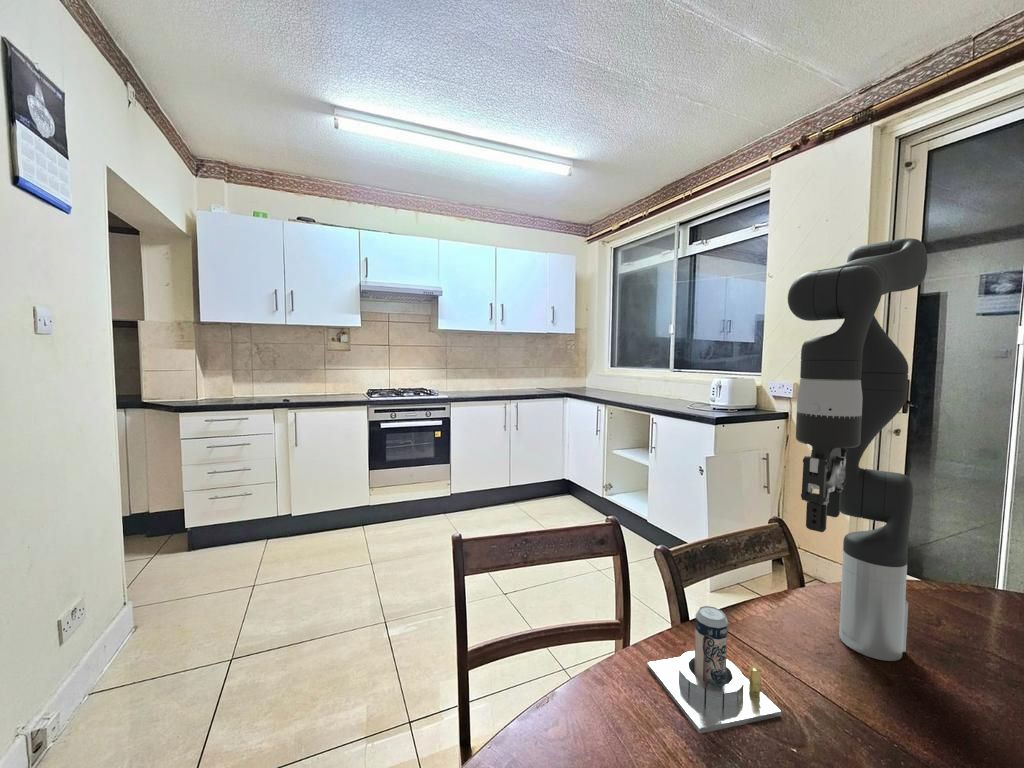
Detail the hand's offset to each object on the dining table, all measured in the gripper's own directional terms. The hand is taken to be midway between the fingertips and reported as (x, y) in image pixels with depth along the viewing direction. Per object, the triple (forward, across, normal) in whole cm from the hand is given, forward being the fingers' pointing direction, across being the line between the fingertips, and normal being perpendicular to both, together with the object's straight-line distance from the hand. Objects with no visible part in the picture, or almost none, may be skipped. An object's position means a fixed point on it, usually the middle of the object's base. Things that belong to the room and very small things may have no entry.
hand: (823, 522), depth 63 cm
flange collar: (+30, -5, +13) cm, 33 cm away
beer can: (+30, -5, +13) cm, 33 cm away
